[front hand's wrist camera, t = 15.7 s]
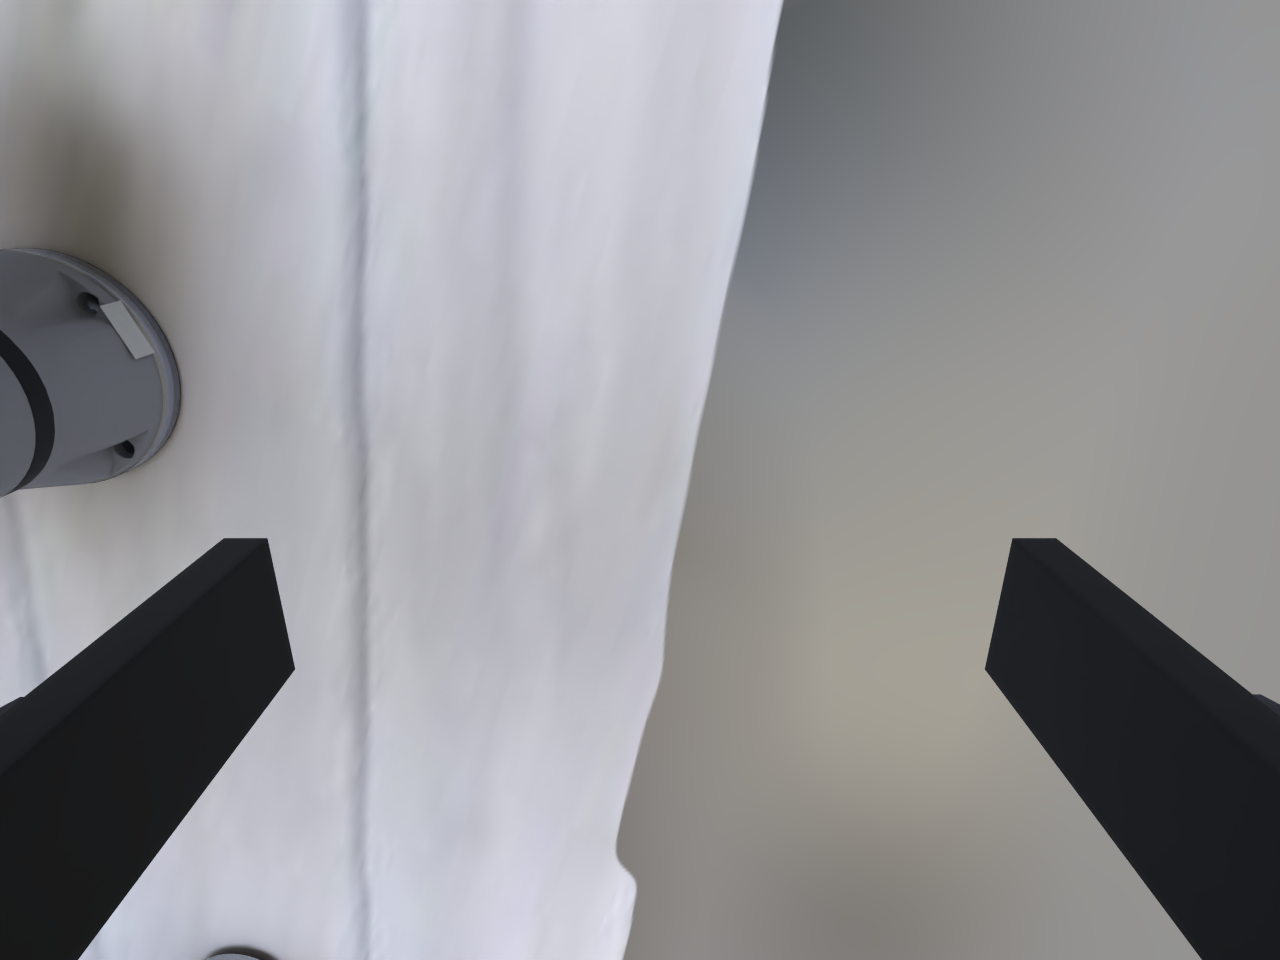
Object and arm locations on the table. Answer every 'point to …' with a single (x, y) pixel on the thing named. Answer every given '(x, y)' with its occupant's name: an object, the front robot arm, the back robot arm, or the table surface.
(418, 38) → the table surface
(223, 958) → the tin
